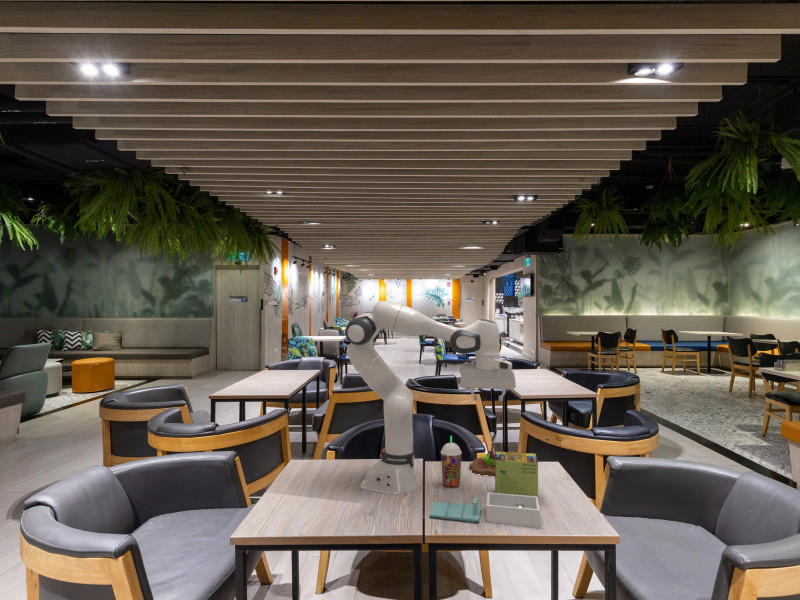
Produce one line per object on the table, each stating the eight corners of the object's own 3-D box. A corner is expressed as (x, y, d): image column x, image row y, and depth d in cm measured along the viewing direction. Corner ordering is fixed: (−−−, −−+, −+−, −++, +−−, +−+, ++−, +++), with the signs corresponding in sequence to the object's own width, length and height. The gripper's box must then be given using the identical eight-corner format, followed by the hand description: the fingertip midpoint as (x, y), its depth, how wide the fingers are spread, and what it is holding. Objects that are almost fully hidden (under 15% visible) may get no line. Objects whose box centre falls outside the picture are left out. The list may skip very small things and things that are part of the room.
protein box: (538, 505, 165) (538, 462, 165) (495, 502, 168) (495, 459, 168) (536, 494, 175) (535, 453, 175) (495, 490, 178) (494, 451, 178)
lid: (429, 519, 153) (429, 502, 153) (434, 505, 164) (433, 490, 164) (478, 524, 150) (478, 507, 150) (480, 510, 160) (480, 494, 160)
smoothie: (448, 491, 177) (448, 440, 178) (437, 484, 185) (436, 434, 185) (466, 487, 181) (465, 437, 181) (454, 480, 189) (453, 432, 189)
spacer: (515, 517, 154) (515, 507, 154) (515, 513, 158) (515, 503, 158) (525, 518, 154) (525, 508, 154) (524, 514, 157) (524, 504, 157)
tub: (486, 523, 151) (486, 505, 151) (487, 509, 162) (487, 492, 162) (540, 529, 147) (539, 510, 148) (537, 513, 158) (537, 496, 158)
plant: (518, 465, 208) (518, 440, 208) (513, 480, 189) (513, 453, 189) (474, 460, 215) (474, 436, 215) (465, 474, 196) (465, 448, 196)
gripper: (458, 363, 169) (458, 401, 168) (515, 364, 164) (516, 403, 164) (460, 361, 175) (460, 397, 175) (515, 362, 170) (515, 399, 170)
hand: (487, 400), depth 169 cm, fingers open, 8 cm apart
